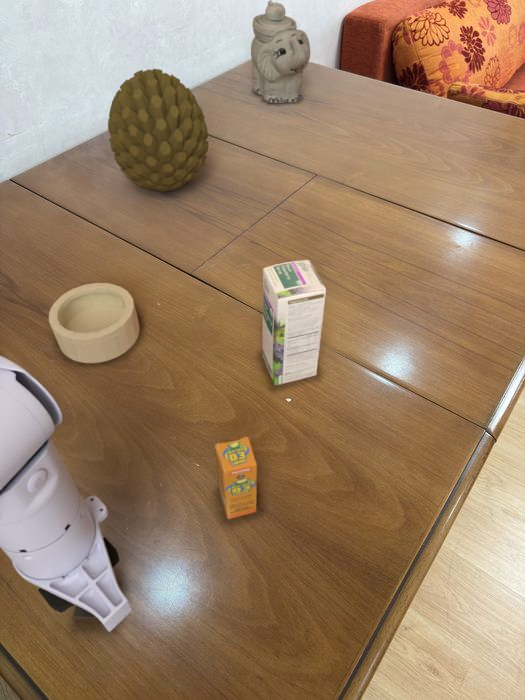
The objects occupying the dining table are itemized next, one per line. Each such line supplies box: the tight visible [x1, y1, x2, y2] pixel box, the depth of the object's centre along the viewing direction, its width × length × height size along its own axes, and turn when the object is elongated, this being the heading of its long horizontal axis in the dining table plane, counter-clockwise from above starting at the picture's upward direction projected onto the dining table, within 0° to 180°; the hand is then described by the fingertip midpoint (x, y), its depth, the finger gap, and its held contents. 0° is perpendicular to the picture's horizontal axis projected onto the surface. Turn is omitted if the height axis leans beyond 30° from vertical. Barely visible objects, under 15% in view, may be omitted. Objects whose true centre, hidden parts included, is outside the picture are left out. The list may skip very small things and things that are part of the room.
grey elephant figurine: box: [250, 0, 311, 104], centre depth 120 cm, size 16×15×19 cm
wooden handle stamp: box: [72, 581, 122, 625], centre depth 45 cm, size 3×3×9 cm
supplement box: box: [214, 436, 258, 520], centre depth 52 cm, size 3×3×10 cm
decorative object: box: [107, 68, 209, 193], centre depth 92 cm, size 17×17×20 cm
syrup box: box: [261, 259, 327, 386], centre depth 63 cm, size 6×6×14 cm
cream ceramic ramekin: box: [48, 282, 140, 364], centre depth 71 cm, size 11×11×4 cm
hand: (86, 585), depth 45 cm, fingers closed on wooden handle stamp, 2 cm apart
